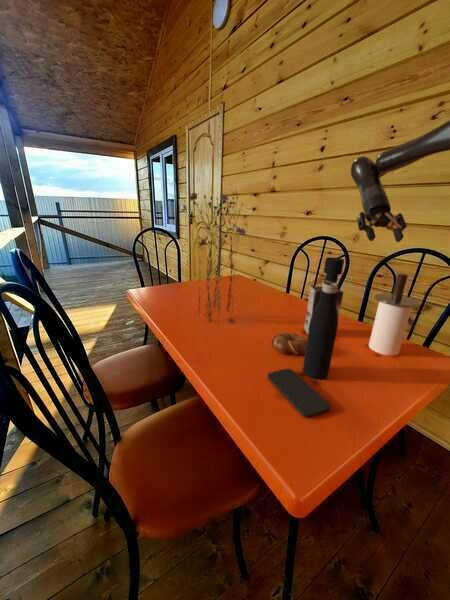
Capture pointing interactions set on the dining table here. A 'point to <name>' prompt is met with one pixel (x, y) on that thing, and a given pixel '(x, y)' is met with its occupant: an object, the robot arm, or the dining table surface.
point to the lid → (398, 294)
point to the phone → (299, 393)
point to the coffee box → (314, 301)
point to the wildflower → (240, 231)
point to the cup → (389, 329)
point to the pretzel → (289, 343)
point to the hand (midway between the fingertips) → (386, 239)
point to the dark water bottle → (323, 324)
